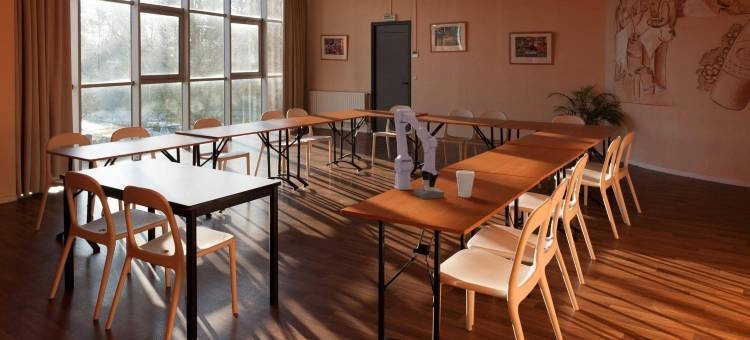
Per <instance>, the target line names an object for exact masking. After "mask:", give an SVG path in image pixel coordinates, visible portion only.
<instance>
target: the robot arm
mask: <svg viewBox="0 0 750 340" xmlns="http://www.w3.org/2000/svg"><path fill="white" fill-rule="evenodd" d="M394 112H395V113H394V114H393V117H394V118H393V119H394V126H395V127H394V128H395V136H396V138H395V139H396V145H397V154H398V156H397V157H395V158H394V164H393V167H394V171H395V172H396V173H395V175H394V185H393V187H394V188H395V189H397V190H399V191H406V190H414V188H413V187H411V173H412V171H413V170H414V167H415V164H414V162H413V158H412V157H411V156H410V155H409V151H408V143H407V134H406V133H407V132H406V126H407V125H408V124H410V126H411V127H412V128H413V129H414V130H415V131H416V132H415V133H416V136H417V137H418V139H419V140H420V141H421V142H422V143H421V145H422V148H423V149H422V150H423V152H424V154H423V155H424V156H423V158H424V159H423V160H424V161H423V166H421V171H419V172H420V175H421V177H422V180H429V185H430V187H434V185H435V184H436V181H437V179H438V177H439V174H438V173H437V172H438V171H437V170H436V148H438V146H439V140H438V139H437V137H434V136H433V135H431V134H430V133H429V131H428V129H427V128H426V127H425V126H424V127H422V125H421V124H420V122H419V120H418V118H417V117H416V113H415V111H414V110H413V109H412V108H409V109H406V108H405V109H397V110H395V111H394Z"/></svg>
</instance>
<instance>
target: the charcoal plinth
mask: <svg viewBox="0 0 750 340" xmlns="http://www.w3.org/2000/svg"><path fill="white" fill-rule="evenodd" d="M413 195H415V196H417V197H418V198H420V199H423V200H424V199H425V200H426V199H439V198H440V199H441V198H445V196H444V195H445V191H443V190H441V189H439V188H437V187H435V191H424V190H422V187H417V188H413Z"/></svg>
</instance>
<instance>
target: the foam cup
mask: <svg viewBox="0 0 750 340" xmlns="http://www.w3.org/2000/svg"><path fill="white" fill-rule="evenodd" d="M455 176H456V183H457V193H458V197H459V196H460V198H471V197H472V196H471V195H472V191H473V190H472V189H473V186H474V180H475V171H473V170H463V169H462V170H456V174H455Z"/></svg>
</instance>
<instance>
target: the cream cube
mask: <svg viewBox="0 0 750 340" xmlns="http://www.w3.org/2000/svg"><path fill="white" fill-rule="evenodd" d="M421 188H422V190H424V191H435V188H436V187H435V185H434V187H430V185H429V180H423V179H422V180H421Z"/></svg>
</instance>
